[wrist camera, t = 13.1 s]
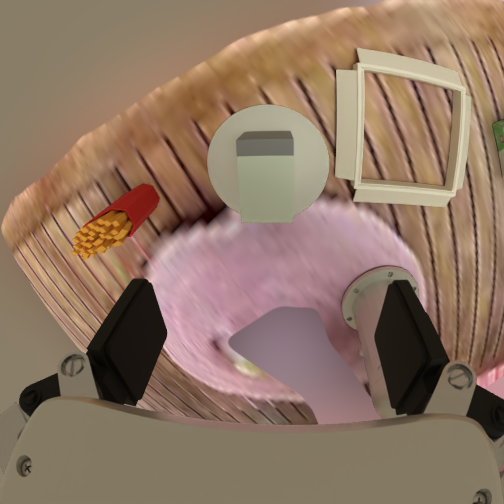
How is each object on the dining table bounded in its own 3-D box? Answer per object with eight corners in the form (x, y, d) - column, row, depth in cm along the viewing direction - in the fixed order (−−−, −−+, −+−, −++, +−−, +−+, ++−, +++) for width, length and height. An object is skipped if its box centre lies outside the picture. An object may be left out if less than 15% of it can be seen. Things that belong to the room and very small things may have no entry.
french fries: (125, 224, 37) (79, 271, 27) (111, 201, 36) (60, 243, 25) (171, 200, 35) (130, 246, 25) (157, 174, 33) (107, 211, 23)
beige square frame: (455, 206, 31) (463, 212, 29) (332, 199, 33) (335, 205, 31) (468, 76, 22) (477, 76, 20) (334, 46, 24) (337, 43, 22)
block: (290, 198, 33) (293, 222, 27) (248, 198, 33) (241, 222, 27) (290, 130, 29) (293, 138, 23) (244, 131, 29) (235, 140, 23)
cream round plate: (325, 219, 34) (326, 221, 34) (213, 219, 36) (212, 221, 35) (329, 105, 27) (330, 105, 27) (203, 108, 29) (202, 108, 28)
